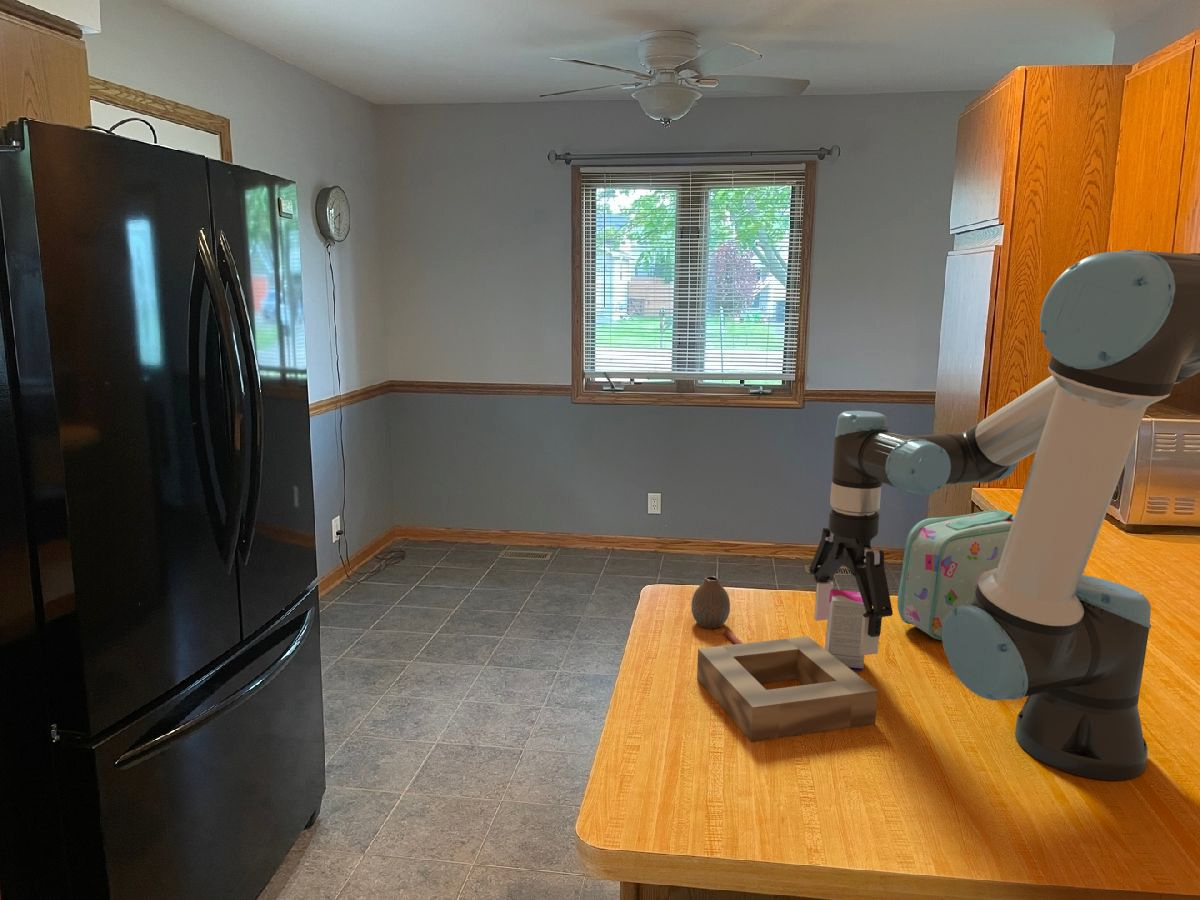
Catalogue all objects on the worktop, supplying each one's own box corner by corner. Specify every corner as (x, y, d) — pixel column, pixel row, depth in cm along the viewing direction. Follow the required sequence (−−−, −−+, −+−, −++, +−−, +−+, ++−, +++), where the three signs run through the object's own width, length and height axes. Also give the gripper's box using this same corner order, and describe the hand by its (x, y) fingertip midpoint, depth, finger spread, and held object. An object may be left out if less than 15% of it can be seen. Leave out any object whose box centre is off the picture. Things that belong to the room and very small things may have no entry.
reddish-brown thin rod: (759, 663, 134) (760, 657, 134) (754, 664, 134) (754, 658, 134) (727, 633, 146) (728, 627, 146) (722, 633, 146) (722, 628, 146)
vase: (686, 628, 148) (687, 581, 146) (696, 614, 154) (698, 569, 153) (724, 634, 145) (726, 587, 144) (733, 620, 152) (735, 575, 150)
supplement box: (864, 672, 132) (869, 603, 129) (826, 668, 133) (830, 600, 131) (860, 656, 137) (865, 591, 135) (823, 653, 138) (828, 588, 136)
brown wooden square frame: (875, 723, 116) (877, 690, 115) (751, 741, 111) (752, 707, 110) (806, 665, 134) (808, 636, 133) (696, 678, 129) (698, 648, 128)
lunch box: (992, 605, 161) (1004, 498, 157) (1040, 624, 152) (1053, 511, 148) (888, 627, 149) (898, 512, 145) (933, 649, 140) (945, 527, 136)
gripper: (925, 530, 119) (912, 667, 124) (833, 489, 143) (824, 604, 147) (880, 534, 117) (868, 672, 122) (794, 491, 141) (786, 608, 145)
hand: (844, 635), depth 134 cm, fingers open, 13 cm apart
